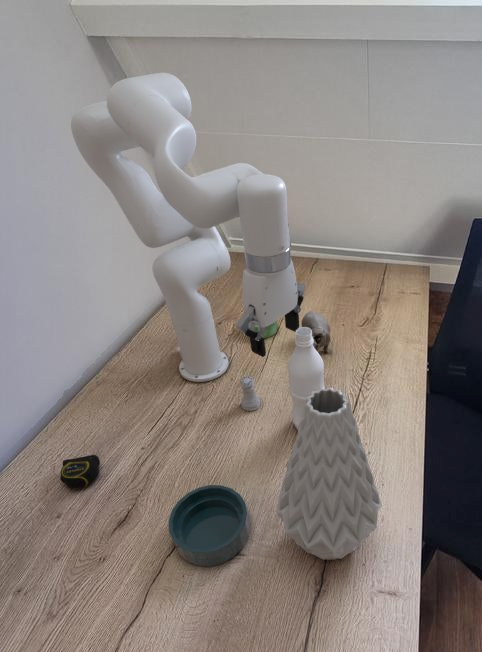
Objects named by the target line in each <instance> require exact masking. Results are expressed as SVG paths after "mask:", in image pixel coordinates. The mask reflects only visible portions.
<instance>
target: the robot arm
mask: <svg viewBox="0 0 482 652" xmlns="http://www.w3.org/2000/svg"><path fill="white" fill-rule="evenodd" d="M192 107H193V106H192V100H191V97H190V94H189V91H188V89H187V88H186V86H185V84H184V83H183V82H182V81H181V80H180V79H179V78H178V77H177V76H175V75H174V74H172V73H169V72H163V71H162V72H154V73H148V74H144V75H138V76H132V77H127V78H123V79H121V80H119V81H117V82H115V83H114V84H113V85H112V86H111V87H110V89H109V91H108V92H107V95H106V100H102V101H98V102H94V103H91V104H88V105H85V106H83V107H81V108H79V109H78V110H76V111H75V112H74V113H73V115H72V117H71V121H70V129H71V134H72V137H73V140H74V142H75V146H76V147H77V150H78V151H79V154H80V155H81V157H82V158H83V160H84V161H85V163H86V164H87V165H88V166H89V168H90V169H91V170H92V171H93V173H94V174H95V175H96V176H97V177H98V178H99V179H100V180H101V182H102V183H104V185H105V186H106V187H107V188H108V189H109V190H110V192H111V193H112V195H113V197H114V199H115V200H116V202H117V205H119V207H120V209H121V211H122V212H123V215H124V216H125V217H126V219H127V221H128V223H129V224H130V226H131V227H132V230H133V231H134V232H135V234H136V235H137V238H138V239H139V240H140V241H141V242H142V244H143V245H145V246H146V247H147V248H150V249H156V248H160V247H161V248H162V247H163V246H166V245H169V244H171V243H174V242H176V241H179V240H181V239H184V238H186V237H188V238H189V240H190V241H187V242H184V243H182V244H179V245H177V246H175V247H172V248H170V249H168V250H165V251H164V252H162V253H161V254H159V255H158V256H157V257H156V258H155V259H154V261H153V262H152V267H151V269H152V274H153V277H154V280H155V282H156V284H157V286H158V287H159V290H160V292H161V294H162V297H163V299H164V301H165V303H166V304H165V305H166V306H167V311H168V313H169V317H170V320H171V323H172V326H173V330H174V333H175V334H174V335H175V337H176V340H177V344H178V347H177V348H176V352H178V353H179V354H180V355H181V359H182V360H181V361H180V363H179V366H178V371H179V373H180V375H181V377H182V378H183V379H186V380H187V381H190V382H194V383H204V382H205V383H206V382H210V381H213V380H216V379H218V378H219V377H221V376H223V375H224V373H226V371H227V370H228V368H229V365H230V363H229V362H230V361H229V358H228V356H227V354H226V353H225V352H224V351H222V350H221V349H220V343H219V339H218V334H217V329H216V324H215V320H214V315H213V311H212V306H211V304H210V301H209V300H208V299H207V297H206V296H205V295H203V294H201V293H200V292H198V290H199V289H200V288H202V287H203V286H205V285H207V284H209V283H211V282H212V281H215V280H217V279H218V278H221V277H223V276H225V275H226V274H227V273H228V272H229V271H230V269H231V266H232V265H231V264H232V263H231V260H232V259H231V256H230V253H229V251H228V248H227V246H226V243H225V242H224V240H223V238H222V236H221V234H220V233H219V230H218V229H217V228H216V226H220V225H222V224H225V223H227V222H229V221H231V220H233V219H236V218H239V219H240V221H239V222H240V227H241V228H240V229H241V235H242V236H241V237H242V242H243V251H244V258H245V265H246V266H245V267H246V268H244V269H243V272H242V284H241V285H242V286H241V289H242V291H241V292H242V293H241V294H242V306H243V314H242V315H241V316H240V318H239V319H238V321H237V322H236V324H235V327H236V328H237V329H238V331H239V332H240V334H242V335H243V336H245V337H248V338H249V344H250V350H251V352H252V353H254V354H255V355H258V356H260V357H262V358H264V357H266V354H267V351H266V345H265V344H266V342H265V338H262V334H263V332H264V329H265V327H267V326H269V325H270V324H272V323H274V322H275V321H277V322H278V321H279V320H280V319H281V318H283V317H284V324H285V326H284V327H285V328H286V329H287V330H290V331H291V332H295V333H296V330H297V329H298V328H300V313H301V311H302V308H301V305H302V304H303V301H304V294H305V291H306V287H307V286H306V284H303V283H300V282H297V275H296V271H295V266H294V262H293V259H292V255H291V246H292V243H291V240H290V226H289V225H290V223H289V208H288V207H289V206H288V193H287V186H286V183H285V181H284V180H283V178H281V177H279V176H277V175H274V174H268V173H263V172H262V171H260V170H259V169H257V168H256V167H255V166H254V165H251V164H249V163H246V162H237V163H233V164H230V165H227V166H224V167H221V168H216V169H214V170H210V171H208V172H205V173H201V174H199V175H195V176H190V175H189V174H187V173H186V172H185V171H183V169H185V167H186V166H187V164H188V163H189V162H190V160H191V159H192V158H193V156H194V154H195V151H196V148H197V142H198V141H197V133H196V129H195V128H194V125H193V124H192V122H190V118H191V116H192V111H193V110H192ZM140 147H141V148H142V149H143V150H144V151H145V152H146V153H147V154H148V155H150V157H151V158H152V159H153V171H154V177H155V181H156V183H157V185H158V187H156V185H155V183H154V182H153V180H152V178H151V175H150V174H149V173H148V172H147V171H146V170H145V169H144V168H143V167H142V166H140V165H139V164H138V163H136V162H135V161H134V160H132V159H130V158H128V157H126V156H125V155H123V154H122V153H121V152H123V151H128V150H132V149H136V148H140ZM158 188H159V190H160V191H159V190H158ZM257 320H258V321H257ZM248 324H249V326H248ZM256 324H257V325H259V327H258V329H257V332H254V331H253V330H254V328H255V325H256Z"/></svg>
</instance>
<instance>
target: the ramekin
mask: <svg viewBox="0 0 482 652" xmlns="http://www.w3.org/2000/svg"><path fill="white" fill-rule="evenodd" d="M257 321H258V320H257ZM248 326H249V324H248ZM258 327H259V325H257V324H256V325H255V328H254V330H253V331H254V332H257V329H258ZM277 331H278V320H277V321H275V322H274V323H272V324H270V325H269V326H267V327H265V329H264V332H263V334H262V338H264V339H267V338H270V337H273V336H274V335H275V334H276V333H277Z"/></svg>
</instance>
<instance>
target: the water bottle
mask: <svg viewBox="0 0 482 652" xmlns="http://www.w3.org/2000/svg"><path fill="white" fill-rule="evenodd" d="M313 343H314V340H313V337H312V330H311V329H310V328H308V327H302V326H301V327H299V328H298V329H297V330H296V332H295V339H294V345H295V348H294V350H293V351H292V353H291V355H290V357H289V359H288V362H287V372H288V373H287V374H288V382H289V386H288V389H289V395H290V398H291V400H292V410H291V420H292V423H293V425H294V427H295V428H296V430H298V426H299V423H300V422H301V419H302V414H303V410H304V407H305V405H306V398H307V397H309V396H311V392H312V391H318V390H319V389H320V388H323V389H325V381H324V371H325V364H324V361H323V358H322V356H321V355H320V353H319V352H318V351H316V349H315V348H314V346H313Z"/></svg>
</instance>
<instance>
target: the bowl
mask: <svg viewBox="0 0 482 652" xmlns="http://www.w3.org/2000/svg"><path fill="white" fill-rule="evenodd" d="M249 517H250V516H249V513H248V509H247V503H246V502H245V500H244V498H243V497H242V496H241V494H240V493H239V492H237V491H236V490H234V489H233V488H231V487H229V486H225V485H221V484H209V485H204V486H200V487H197V488H194V489H193V490H191V491H189V492H187V493H186V494H185V495H184V496H182V497H181V498H180V499H179V500H178V501H177V502H176V503H175V505H174V506H173V508H172V509H171V513H170V515H169V518H168V534H169V535H170V537H171V539H172V542H173V543H174V546H175V548H176V550H177V552H178V555H180V556H181V557H182V558H183V560H185V561H186V562H187V563H191V564H192V565H195V566H200V567H213V566H216V565H221V564H223V563H225V562H228V561H229V560H231V559H232V558H234V557H235V556H237V555H238V554H239V552H240V551H241V550H242V549H243V548H244V546H245V545H246V543H247V540H248V539H249V537H250V530H251V523H250V518H249Z"/></svg>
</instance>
